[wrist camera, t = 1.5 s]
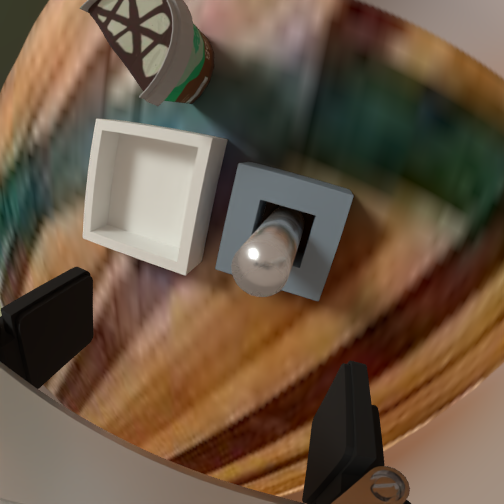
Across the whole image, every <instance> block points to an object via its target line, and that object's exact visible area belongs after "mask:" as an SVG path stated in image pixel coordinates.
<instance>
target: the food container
mask: <svg viewBox="0 0 504 504" xmlns="http://www.w3.org/2000/svg"><path fill="white" fill-rule="evenodd" d="M80 9H82V10H84V11H86V12H88V13H90V15H91V16H92V17H93V19H94V20H95V21H96V23H97V24H98V26H99V27H100V29H101V31H102V32H103V34H104V36H105V38H106V39H107V41H108V43H109V45H110V46H111V47H112V49H113V50H114V51H115V53H116V54H117V55H118V56H119V58H120V59H121V60H122V62H123V63H124V64H125V66H126V67H127V68H128V70H129V71H130V73H131V74H132V76H133V77H134V78H135V80H136V81H137V83H138V84H139V86H140V87H141V89H142V90H143V93H142V94H141V95H140V96H139V98H143V99H145V100H146V101H147V102H149V103H152V104H154V105H156V106H159V105H160V104H161V103H162V102H163V101H172V102H180V103H188V104H192V103H193V102H194V101H195V100H196V99H197V98H199V97H200V96H201V94H202V93H203V91H204V89H205V88H206V86H207V85H208V83H209V82H210V79H211V75H212V72H213V69H214V52H213V49H212V47H211V44H210V42H209V41H208V39H207V38H206V37H205V36H204V35H203V33H202V32H201V31H200V30H199V29H198V28H197V27H196V26H195V25H194V24H193V21H192V16H191V13H190V11H189V9H188V7H187V5H186V4H185V2H184V1H183V0H88V1H86V2H85V3H84V4H83V5H82V6H81V7H80Z"/></svg>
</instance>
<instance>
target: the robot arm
mask: <svg viewBox="0 0 504 504" xmlns="http://www.w3.org/2000/svg"><path fill="white" fill-rule="evenodd" d="M1 313H2V316H1V317H0V504H305V503H307V504H411V503H410V502H409V501H407V500H406V499H407V498H408V496H409V491H410V487H409V483H408V481H407V479H406V477H405V476H404V475H403V474H402V473H401V472H400V471H398V470H396V469H395V468H391V467H388V466H384V456H383V445H382V436H381V427H380V419H379V411H378V407H377V406H375V405H371V397H370V389H369V381H368V373H367V367H366V365H365V364H362V363H358V362H354V361H349V362H348V364H344V363H343V364H342V365H341V367H340V369H339V371H338V373H337V375H336V377H335V379H334V381H333V383H332V385H331V387H330V389H329V390H328V392H327V394H326V396H325V398H324V400H323V402H322V404H321V405H320V407H319V409H318V411H317V413H316V414H315V416H314V419H313V422H312V428H311V437H310V446H309V454H308V462H307V470H306V477H305V485H304V491H303V498H302V501H303V503H301V502H297V501H293V500H289V499H285V498H282V497H278V496H274V495H270V494H266V493H263V492H259V491H255V490H252V489H248V488H245V487H242V486H238V485H235V484H232V483H229V482H226V481H223V480H220V479H217V478H214V477H211V476H208V475H205V474H202V473H199V472H197V471H194V470H191V469H189V468H186V467H183V466H181V465H178V464H176V463H173V462H171V461H168V460H166V459H164V458H161V457H159V456H157V455H155V454H152V453H150V452H148V451H146V450H143V449H141V448H139V447H137V446H135V445H133V444H131V443H129V442H127V441H125V440H123V439H121V438H119V437H117V436H115V435H113V434H111V433H109V432H107V431H105V430H103V429H102V428H100V427H98V426H96V425H94V424H93V423H91V422H89V421H87V420H86V419H84V418H82V417H80V416H79V415H77V414H75V413H74V412H72V411H71V410H69V409H67V408H66V407H64V406H62V405H61V404H59V403H58V402H56V401H55V400H53V399H51V398H50V397H48V396H47V395H45V394H44V393H42V392H41V391H40V390H38V388H40V387H41V386H42V385H43V384H44V383H45V382H46V381H48V380H49V379H50V378H51V377H52V376H53V375H54V374H55V373H56V372H58V371H59V370H60V369H61V368H62V367H63V366H64V365H65V364H66V363H68V362H69V361H70V360H71V359H72V358H73V357H74V356H75V355H77V354H78V353H79V352H80V351H81V350H82V349H83V348H84V347H86V346H87V345H88V344H89V343H90V342H91V340H92V338H93V279H92V277H91V276H90V273H89V272H88V271H86V270H83V269H81V268H79V267H74V268H72V269H70V270H68V271H67V272H65V273H63V274H61V275H59V276H57V277H56V278H54V279H52V280H50V281H48V282H46V283H45V284H43V285H41V286H39V287H38V288H36V289H34V290H32V291H30V292H29V293H27V294H25V295H23V296H22V297H20V298H18V299H17V300H15V301H13V302H11V303H10V304H8V305H6V306H5V307H3V308H1Z"/></svg>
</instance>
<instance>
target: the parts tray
mask: <svg viewBox="0 0 504 504" xmlns="http://www.w3.org/2000/svg"><path fill="white" fill-rule="evenodd" d="M227 140H228V139H224V138H219V137H215V136H210V135H205V134H200V133H195V132H190V131H184V130H179V129H173V128H167V127H161V126H155V125H149V124H142V123H136V122H129V121H121V120H109V119H96V123H95V129H94V134H93V141H92V147H91V154H90V161H89V169H88V177H87V187H86V197H85V209H84V223H83V238H84V239H86V240H89V241H92V242H94V243H97V244H99V245H102V246H105V247H107V248H110V249H113V250H115V251H118V252H121V253H124V254H126V255H129V256H132V257H134V258H137V259H140V260H143V261H145V262H148V263H151V264H154V265H157V266H159V267H162V268H165V269H168V270H171V271H174V272H176V273H179V274H182V275H185V276H186V275H187V274H188V273H189V272H190V271H191V270H193V269H194V268H195V267H196V266H197V265H198V264H199V263H200V262H202V258H203V253H204V248H205V243H206V238H207V233H208V228H209V223H210V218H211V213H212V208H213V203H214V199H215V194H216V189H217V185H218V180H219V176H220V171H221V166H222V162H223V158H224V153H225V149H226V145H227Z"/></svg>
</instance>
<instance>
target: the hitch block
mask: <svg viewBox="0 0 504 504" xmlns="http://www.w3.org/2000/svg"><path fill="white" fill-rule="evenodd" d="M352 199H353V194H352V192H351V191H350V190H349V189H346V188H342V187H339V186H336V185H333V184H330V183H326V182H323V181H320V180H316V179H313V178H309V177H306V176H302V175H299V174H295V173H292V172H288V171H284V170H281V169H277V168H273V167H269V166H266V165H262V164H258V163H254V162H244V163H238V168H237V172H236V176H235V180H234V185H233V189H232V194H231V198H230V202H229V207H228V211H227V216H226V220H225V225H224V230H223V234H222V239H221V243H220V248H219V253H218V258H217V262H216V267H215V269H216V270H220V271H223V272H226V273H229V274H232V269H231V265H232V260H233V257H234V255H235V253H236V252H237V251H238V250H239V249H240V247H241V246H242V245H243V244H244V243H245V242H246V241H247V240H248V239H249V238H250V237H251V235H252V234H253V233H254V232H255V231H256V230H257V229H258V228H259V227H260V226H261V223H262V219H263V216H264V212H265V208H266V204H267V202H271V203H274V204H278V205H281V206H285V207H288V208H292V209H295V210H299V211H302V212H305V213H309V214H312V215H315V217H314V220H313V224H312V227H311V231H310V234H309V237H308V240H307V244H306V247H305V250H304V253H301V252H298V251H297V252H296V255H295V259H294V262H293V265H292V268H291V271H290V274H289V277H288V280H287V282H286V284H285V286H284V287H283V288H282V289H281V290H283V291H286V292H289V293H292V294H296V295H299V296H302V297H305V298H309V299H312V300H315V301H319V299H320V296H321V293H322V290H323V288H324V285H325V282H326V279H327V276H328V273H329V271H330V268H331V265H332V262H333V259H334V256H335V253H336V250H337V247H338V244H339V241H340V238H341V235H342V232H343V228H344V225H345V222H346V219H347V216H348V212H349V209H350V206H351V203H352Z"/></svg>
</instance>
